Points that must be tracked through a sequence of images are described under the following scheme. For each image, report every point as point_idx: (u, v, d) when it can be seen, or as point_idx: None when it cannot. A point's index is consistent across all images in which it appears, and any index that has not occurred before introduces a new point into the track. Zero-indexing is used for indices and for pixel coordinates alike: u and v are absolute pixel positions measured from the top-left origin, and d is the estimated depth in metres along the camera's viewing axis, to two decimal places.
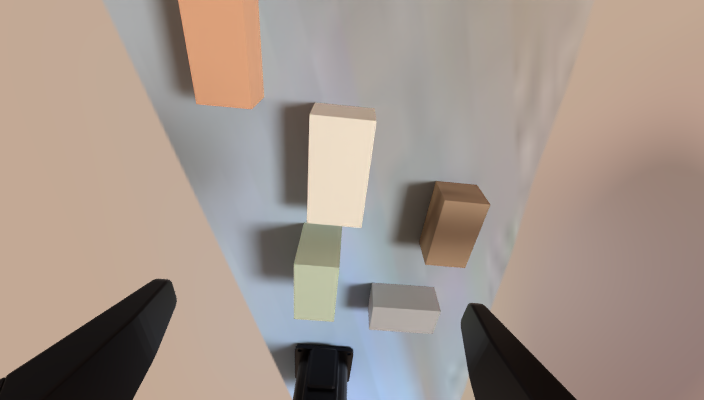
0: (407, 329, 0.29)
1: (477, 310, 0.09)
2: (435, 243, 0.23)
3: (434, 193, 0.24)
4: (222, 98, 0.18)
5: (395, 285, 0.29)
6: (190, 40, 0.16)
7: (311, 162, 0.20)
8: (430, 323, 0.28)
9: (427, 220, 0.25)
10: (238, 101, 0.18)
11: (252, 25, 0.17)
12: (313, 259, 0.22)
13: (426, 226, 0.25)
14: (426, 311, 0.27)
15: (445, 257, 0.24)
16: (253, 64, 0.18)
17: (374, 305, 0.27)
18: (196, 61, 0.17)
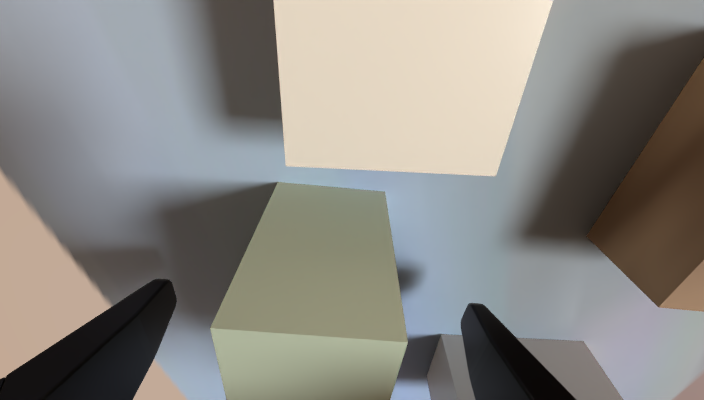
0: None
1: (477, 310, 0.09)
2: None
3: None
4: None
5: None
6: None
7: None
8: None
9: (653, 171, 0.08)
10: None
11: None
12: (299, 301, 0.06)
13: (641, 190, 0.08)
14: None
15: None
16: None
17: None
18: None
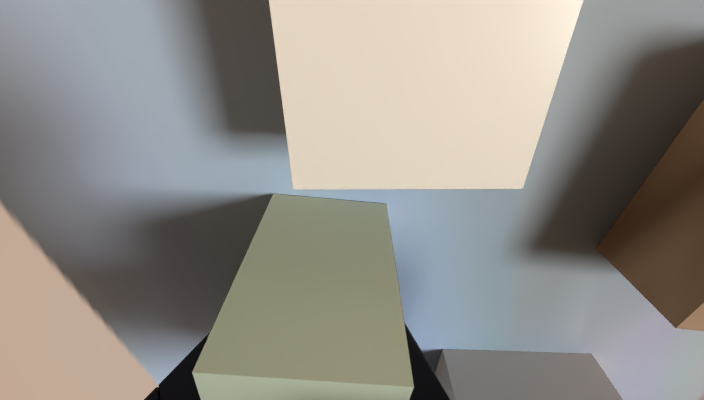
0: None
1: None
2: None
3: None
4: None
5: (499, 354, 0.12)
6: None
7: None
8: None
9: (671, 182, 0.08)
10: None
11: None
12: (292, 337, 0.05)
13: (658, 202, 0.08)
14: None
15: None
16: None
17: None
18: None
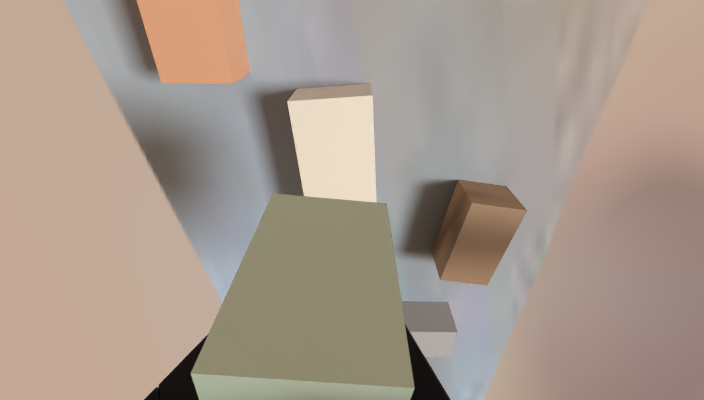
0: None
1: None
2: (454, 254, 0.19)
3: (454, 194, 0.20)
4: (193, 73, 0.14)
5: (402, 302, 0.25)
6: None
7: (301, 161, 0.16)
8: (446, 346, 0.24)
9: (444, 227, 0.21)
10: (213, 75, 0.14)
11: None
12: (292, 338, 0.05)
13: (442, 234, 0.21)
14: (440, 332, 0.23)
15: (465, 272, 0.20)
16: (228, 24, 0.14)
17: None
18: (153, 24, 0.13)
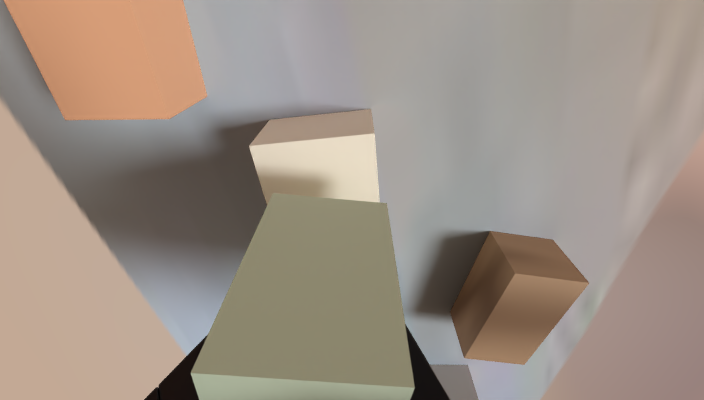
0: None
1: None
2: (486, 331, 0.14)
3: (485, 250, 0.15)
4: (110, 104, 0.09)
5: None
6: None
7: None
8: None
9: (469, 288, 0.16)
10: (140, 106, 0.09)
11: None
12: (292, 337, 0.05)
13: (465, 296, 0.16)
14: None
15: (497, 350, 0.15)
16: (159, 29, 0.09)
17: None
18: (35, 32, 0.08)
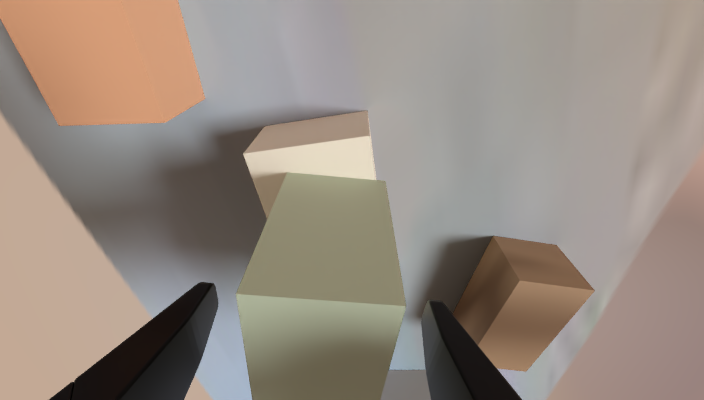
0: None
1: (434, 307, 0.09)
2: (488, 338, 0.14)
3: (488, 255, 0.15)
4: (104, 108, 0.09)
5: (412, 372, 0.21)
6: None
7: None
8: None
9: (471, 293, 0.16)
10: (135, 110, 0.09)
11: None
12: (311, 273, 0.06)
13: (467, 301, 0.16)
14: None
15: (499, 357, 0.15)
16: (153, 30, 0.09)
17: None
18: (25, 36, 0.08)
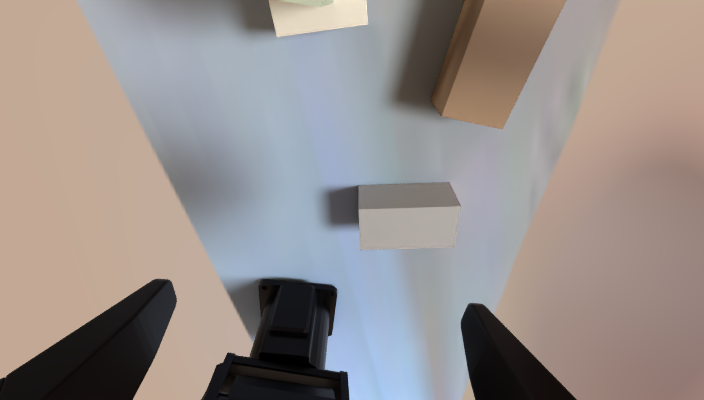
0: (416, 243, 0.20)
1: (477, 310, 0.09)
2: (464, 70, 0.14)
3: None
4: None
5: (392, 185, 0.20)
6: None
7: None
8: (448, 229, 0.19)
9: (451, 50, 0.16)
10: None
11: None
12: None
13: (446, 63, 0.16)
14: (439, 208, 0.18)
15: (475, 104, 0.15)
16: None
17: (360, 207, 0.18)
18: None
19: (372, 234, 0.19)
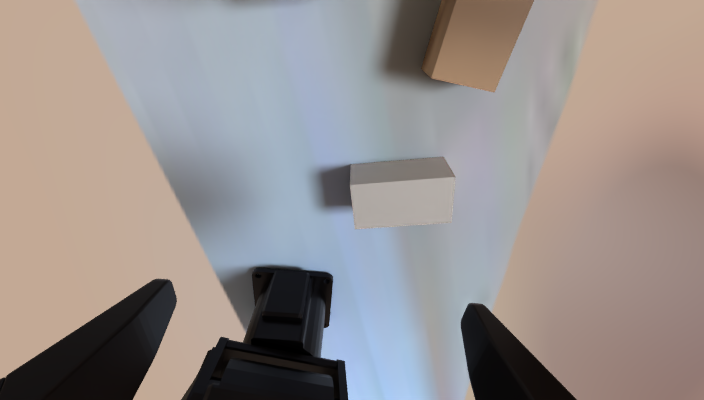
0: (412, 220, 0.19)
1: (477, 310, 0.09)
2: (453, 27, 0.14)
3: None
4: None
5: (385, 162, 0.20)
6: None
7: None
8: (444, 203, 0.18)
9: (440, 13, 0.15)
10: None
11: None
12: None
13: (436, 26, 0.15)
14: (433, 180, 0.18)
15: (466, 64, 0.14)
16: None
17: (351, 183, 0.18)
18: None
19: (366, 211, 0.19)
